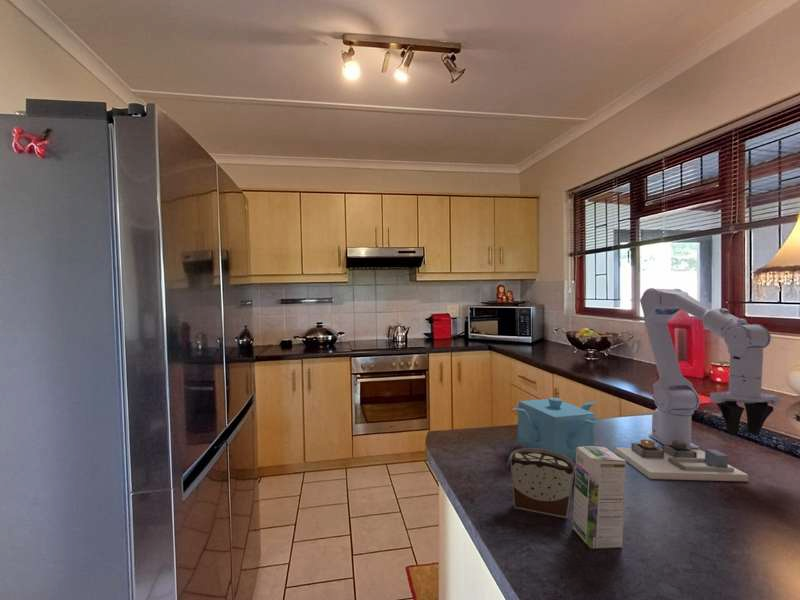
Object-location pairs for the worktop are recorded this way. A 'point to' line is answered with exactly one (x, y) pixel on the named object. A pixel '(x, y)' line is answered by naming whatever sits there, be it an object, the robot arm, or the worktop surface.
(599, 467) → the syrup box
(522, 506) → the food container
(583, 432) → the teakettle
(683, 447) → the black button
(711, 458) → the block
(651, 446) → the copper button
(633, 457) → the control panel
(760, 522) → the worktop surface
